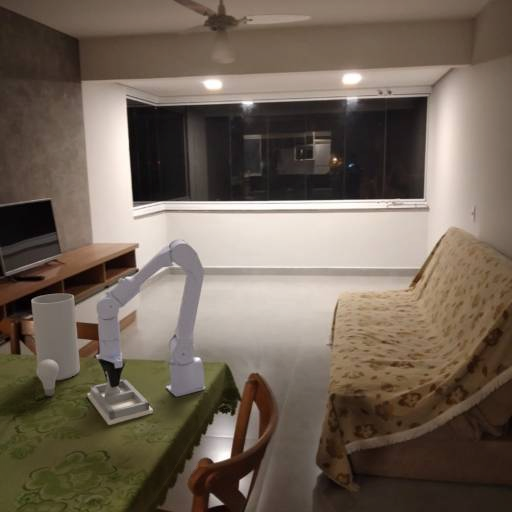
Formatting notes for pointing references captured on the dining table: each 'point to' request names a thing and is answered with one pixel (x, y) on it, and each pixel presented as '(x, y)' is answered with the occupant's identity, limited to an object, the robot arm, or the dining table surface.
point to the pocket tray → (119, 403)
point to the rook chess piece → (109, 389)
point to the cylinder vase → (56, 332)
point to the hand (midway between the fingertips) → (112, 384)
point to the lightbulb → (48, 375)
